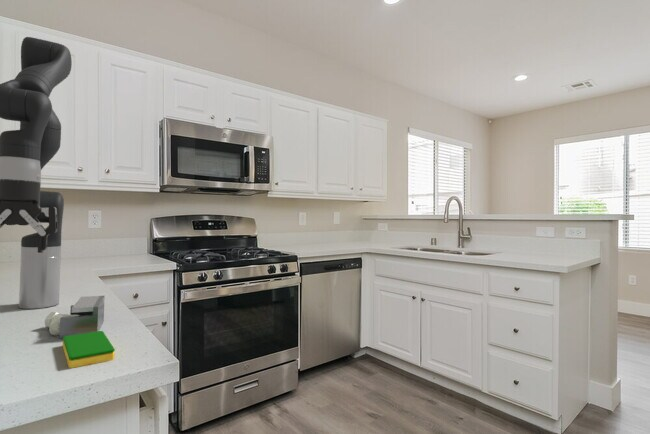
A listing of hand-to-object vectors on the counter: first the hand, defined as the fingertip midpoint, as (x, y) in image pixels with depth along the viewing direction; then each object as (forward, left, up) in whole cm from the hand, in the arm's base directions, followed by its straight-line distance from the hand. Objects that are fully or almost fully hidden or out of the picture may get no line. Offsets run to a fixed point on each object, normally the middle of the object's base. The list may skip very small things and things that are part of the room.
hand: (16, 252), depth 80 cm
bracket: (0, +13, -18) cm, 22 cm away
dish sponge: (+17, +16, -19) cm, 30 cm away
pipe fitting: (-1, +8, -19) cm, 20 cm away
